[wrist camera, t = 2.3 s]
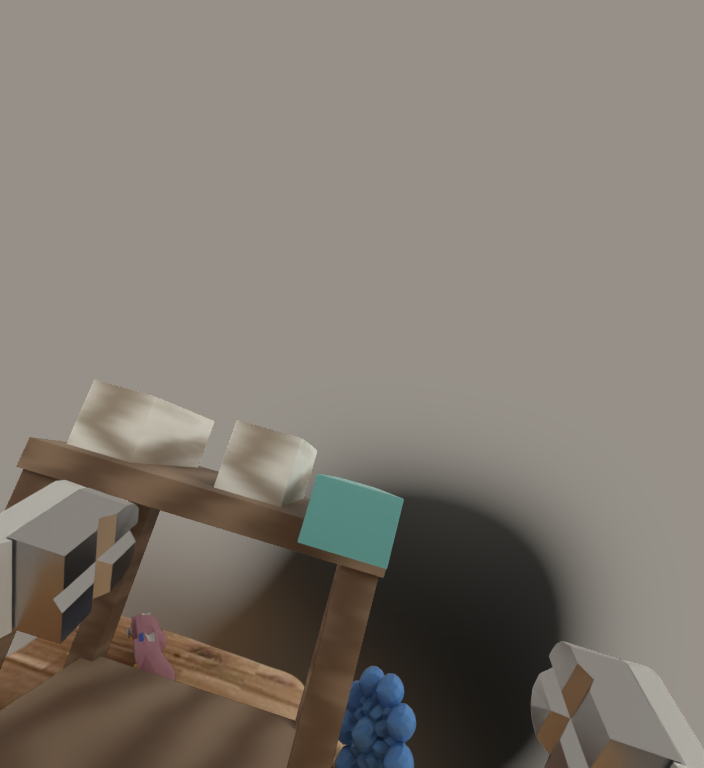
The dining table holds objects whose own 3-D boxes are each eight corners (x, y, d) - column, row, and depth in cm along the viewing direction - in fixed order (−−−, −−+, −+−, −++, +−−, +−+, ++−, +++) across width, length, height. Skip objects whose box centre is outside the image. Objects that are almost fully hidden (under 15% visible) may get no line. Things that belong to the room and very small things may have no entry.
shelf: (303, 803, 37) (388, 471, 44) (259, 1089, 20) (410, 466, 27) (55, 717, 39) (173, 410, 46) (-188, 911, 22) (61, 367, 28)
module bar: (367, 517, 41) (375, 487, 41) (386, 569, 17) (403, 498, 18) (329, 506, 41) (337, 477, 42) (297, 542, 18) (317, 474, 18)
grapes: (429, 855, 36) (458, 704, 38) (365, 867, 33) (402, 703, 36) (364, 757, 46) (390, 643, 49) (311, 760, 43) (342, 639, 46)
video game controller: (130, 660, 54) (123, 609, 54) (167, 645, 57) (160, 596, 57) (134, 707, 46) (125, 646, 46) (177, 686, 48) (169, 629, 48)
